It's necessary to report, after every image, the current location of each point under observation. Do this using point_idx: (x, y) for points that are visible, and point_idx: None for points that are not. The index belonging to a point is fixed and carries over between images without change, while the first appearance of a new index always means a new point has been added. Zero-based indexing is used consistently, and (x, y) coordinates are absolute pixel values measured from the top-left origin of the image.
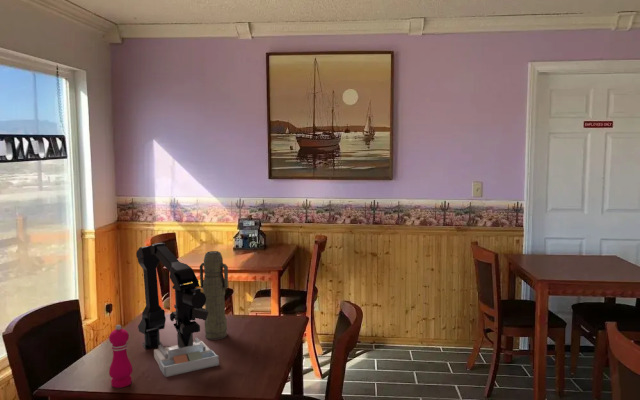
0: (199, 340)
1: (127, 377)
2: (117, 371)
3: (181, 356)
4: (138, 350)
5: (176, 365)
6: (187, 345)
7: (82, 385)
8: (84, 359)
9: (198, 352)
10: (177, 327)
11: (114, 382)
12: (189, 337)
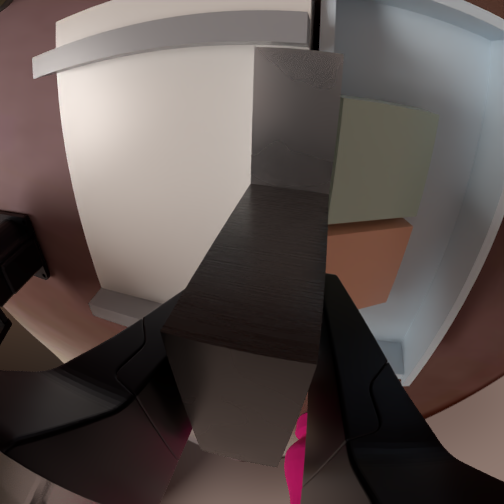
0: (87, 39)
1: None
2: None
3: (331, 272)
4: (56, 294)
5: (437, 339)
6: (335, 281)
7: None
8: None
9: (350, 115)
10: (154, 498)
11: None
12: (386, 370)
